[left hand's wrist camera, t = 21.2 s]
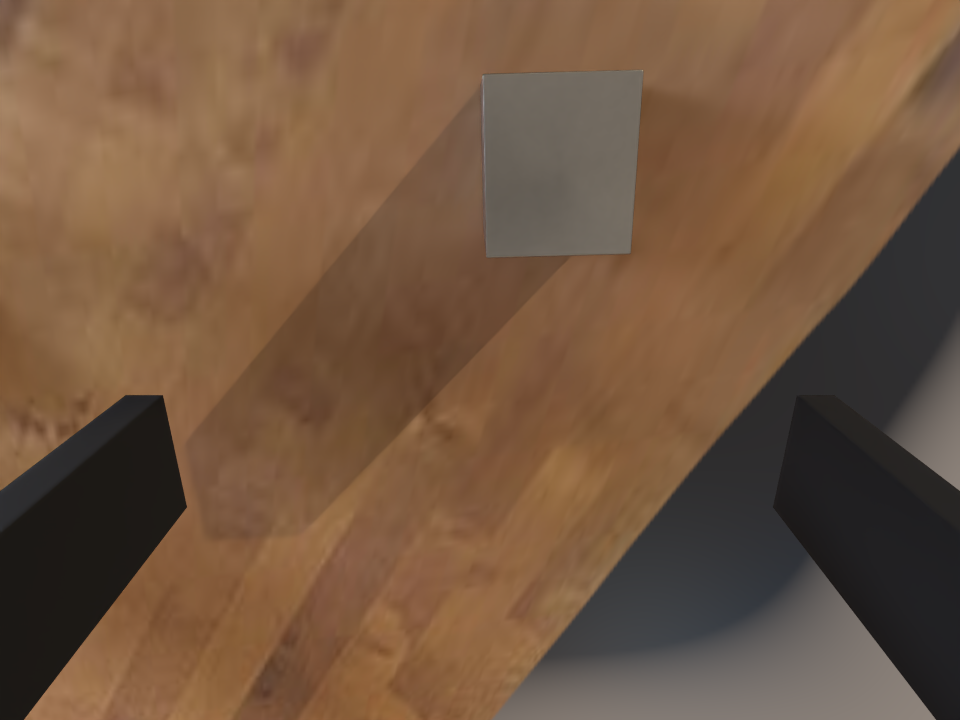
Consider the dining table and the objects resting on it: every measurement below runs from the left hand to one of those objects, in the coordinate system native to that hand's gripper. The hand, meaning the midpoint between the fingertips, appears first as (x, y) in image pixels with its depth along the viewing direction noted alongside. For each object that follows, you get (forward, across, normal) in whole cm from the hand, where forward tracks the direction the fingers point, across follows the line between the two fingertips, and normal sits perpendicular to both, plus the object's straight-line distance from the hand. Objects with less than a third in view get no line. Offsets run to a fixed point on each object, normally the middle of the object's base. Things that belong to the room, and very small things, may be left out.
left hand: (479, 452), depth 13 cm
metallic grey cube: (+27, +4, +4) cm, 27 cm away
